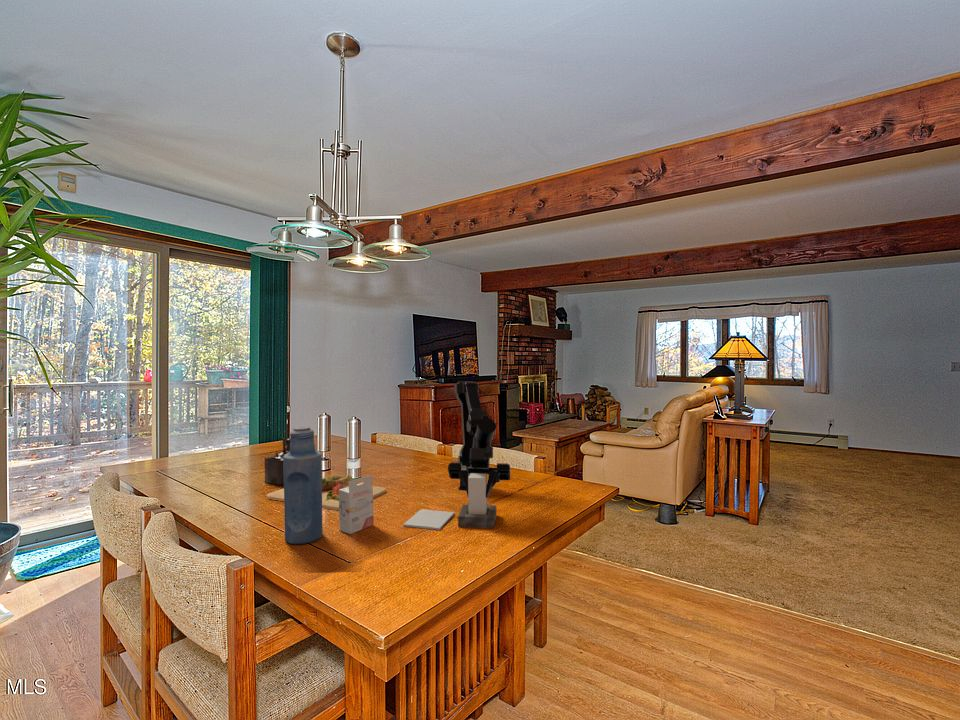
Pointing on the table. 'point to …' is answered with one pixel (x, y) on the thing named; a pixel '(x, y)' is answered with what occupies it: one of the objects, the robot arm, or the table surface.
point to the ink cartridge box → (356, 505)
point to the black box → (276, 465)
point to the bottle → (302, 488)
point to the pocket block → (477, 518)
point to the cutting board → (329, 491)
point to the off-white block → (477, 494)
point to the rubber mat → (429, 519)
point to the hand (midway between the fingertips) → (477, 497)
